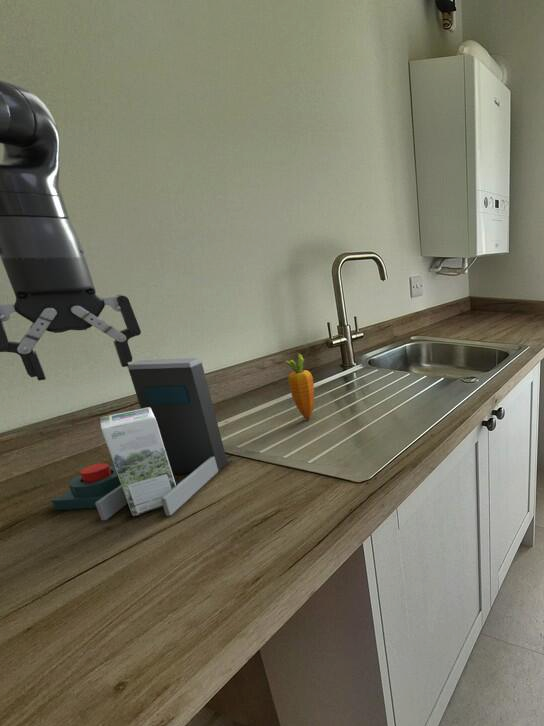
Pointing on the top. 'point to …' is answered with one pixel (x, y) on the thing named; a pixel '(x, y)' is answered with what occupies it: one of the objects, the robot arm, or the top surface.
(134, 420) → the syrup box
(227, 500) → the top surface
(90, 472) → the stop button
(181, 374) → the grey panel on legs
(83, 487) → the control block
